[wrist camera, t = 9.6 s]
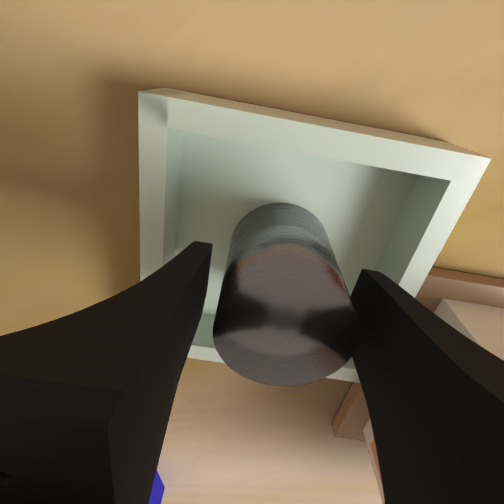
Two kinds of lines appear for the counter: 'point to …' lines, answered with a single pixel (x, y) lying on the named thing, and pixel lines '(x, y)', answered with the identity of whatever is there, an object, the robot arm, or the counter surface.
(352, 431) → the mounted housing
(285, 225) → the coupling
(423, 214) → the parts tray
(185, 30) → the counter surface
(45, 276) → the counter surface
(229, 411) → the counter surface
